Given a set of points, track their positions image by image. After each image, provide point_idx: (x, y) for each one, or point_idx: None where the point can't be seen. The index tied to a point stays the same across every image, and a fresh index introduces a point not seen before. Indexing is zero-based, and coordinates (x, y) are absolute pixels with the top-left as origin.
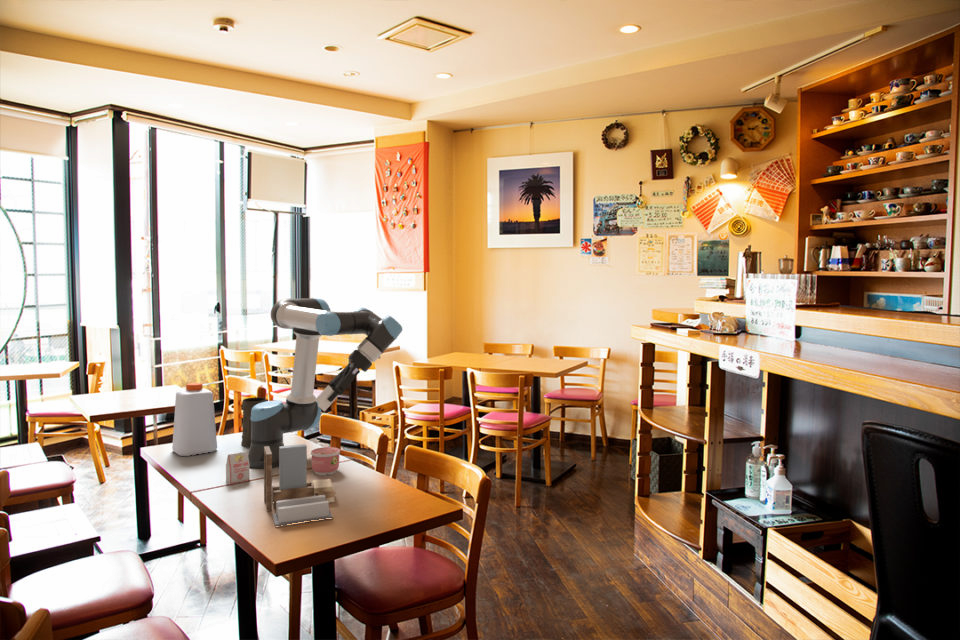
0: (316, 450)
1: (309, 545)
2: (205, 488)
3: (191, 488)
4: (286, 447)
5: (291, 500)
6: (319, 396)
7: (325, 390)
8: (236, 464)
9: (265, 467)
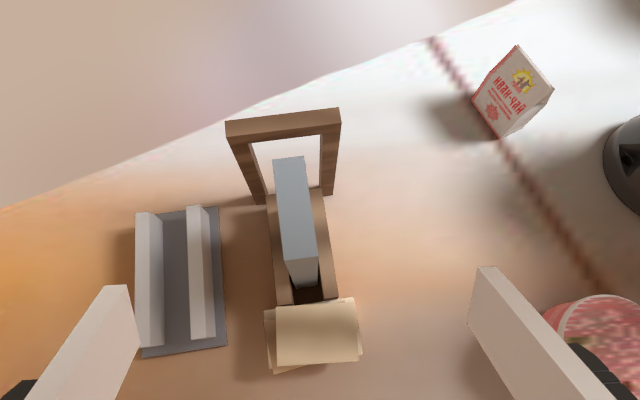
0: (623, 315)
1: (7, 295)
2: (447, 56)
3: (452, 31)
4: (281, 181)
5: (190, 242)
6: (502, 305)
7: (550, 373)
8: (503, 83)
9: (320, 147)
